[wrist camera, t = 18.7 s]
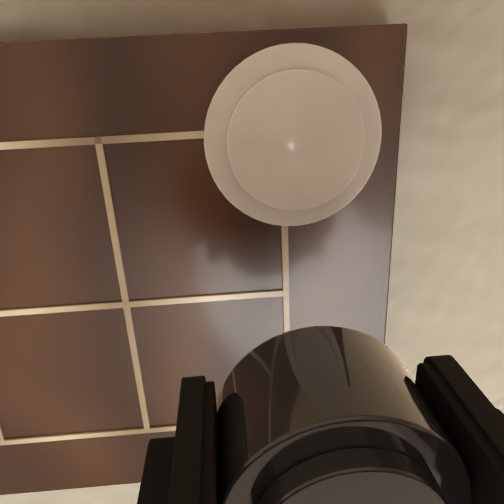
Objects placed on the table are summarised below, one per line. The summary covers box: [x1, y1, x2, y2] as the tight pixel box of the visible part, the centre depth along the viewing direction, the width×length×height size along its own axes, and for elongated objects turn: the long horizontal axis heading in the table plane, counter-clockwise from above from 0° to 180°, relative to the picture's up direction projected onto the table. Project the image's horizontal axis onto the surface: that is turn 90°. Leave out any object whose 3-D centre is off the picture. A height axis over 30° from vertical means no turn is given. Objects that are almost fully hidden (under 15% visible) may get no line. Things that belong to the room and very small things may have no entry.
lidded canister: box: [217, 326, 472, 504], centre depth 10 cm, size 5×5×4 cm
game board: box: [0, 24, 407, 495], centre depth 18 cm, size 20×18×2 cm
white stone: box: [204, 43, 382, 226], centre depth 13 cm, size 5×5×4 cm
